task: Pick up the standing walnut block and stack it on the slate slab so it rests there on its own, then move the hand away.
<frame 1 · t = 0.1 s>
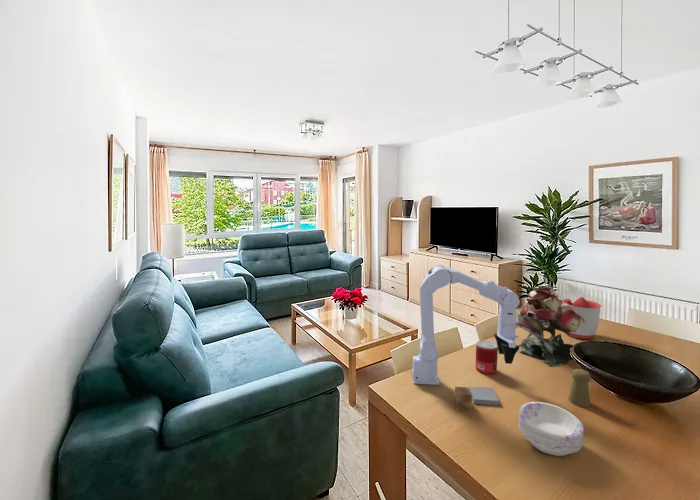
hand: (505, 358, 120), 10 cm above the table, tool pointing down, fingers open, 7 cm apart
paper bowls: (548, 444, 91), on the table
citrus juicer: (578, 335, 167), on the table
canned food: (485, 370, 132), on the table
olive green pawn: (579, 402, 110), on the table
rose bouquet: (542, 350, 150), on the table
slate slab: (483, 398, 113), on the table
walnut block: (462, 406, 109), on the table
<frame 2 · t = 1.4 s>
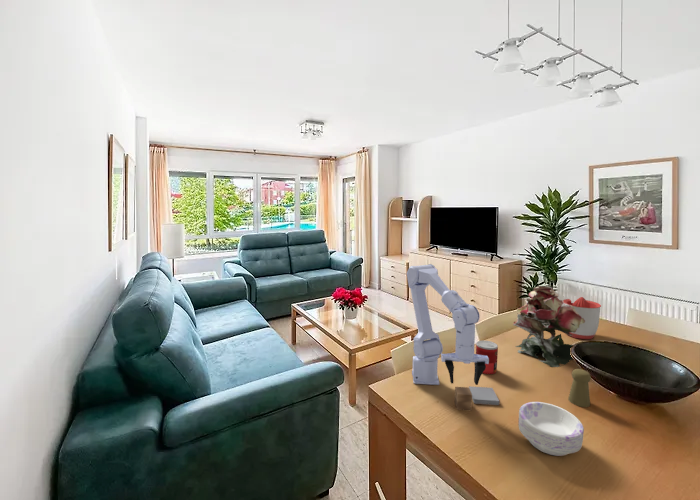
hand: (463, 382, 107), 8 cm above the table, tool pointing down, fingers open, 7 cm apart
nothing on the table moved.
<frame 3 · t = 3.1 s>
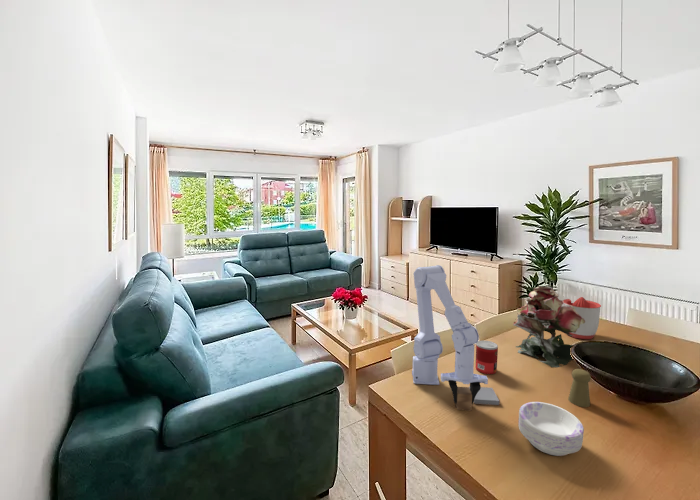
hand: (463, 402, 108), 1 cm above the table, tool pointing down, fingers closed on walnut block, 4 cm apart
walnut block: (462, 406, 109), on the table, touching gripper
everything else where it was.
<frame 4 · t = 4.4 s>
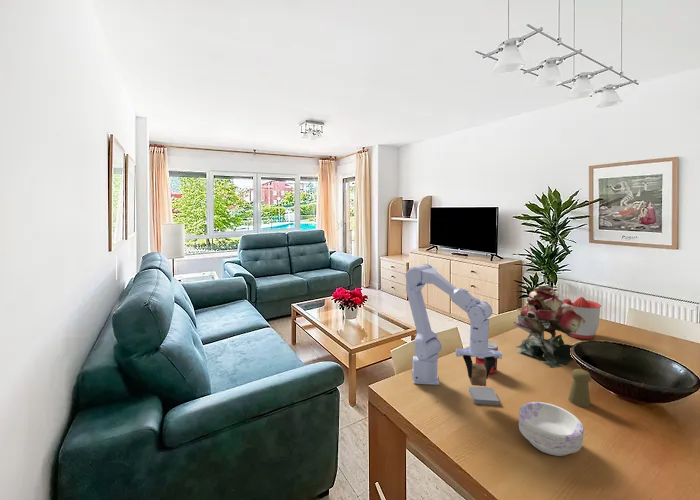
hand: (477, 377, 111), 8 cm above the table, tool pointing down, fingers closed on walnut block, 4 cm apart
walnut block: (477, 382, 111), point 7 cm above the table, touching gripper
everything else where it was.
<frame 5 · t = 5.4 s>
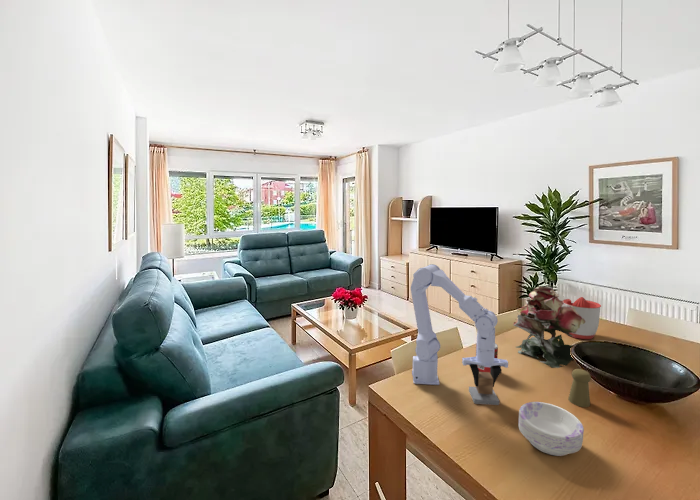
hand: (483, 385, 113), 4 cm above the table, tool pointing down, fingers closed on walnut block, 4 cm apart
walnut block: (483, 390, 113), point 3 cm above the table, touching gripper
everything else where it was.
when the fingers open (4 cm above the table, at t = 6.2 s): walnut block drops 1 cm, resting on slate slab.
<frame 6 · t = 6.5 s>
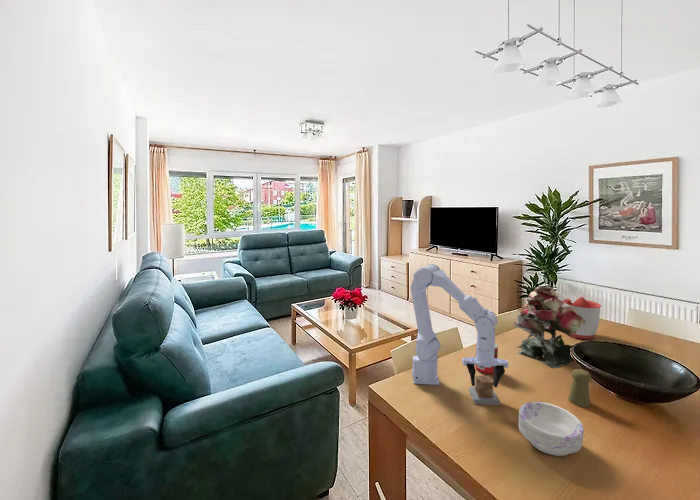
hand: (483, 385, 113), 4 cm above the table, tool pointing down, fingers open, 7 cm apart
slate slab: (483, 399, 113), on the table, touching walnut block
walnut block: (483, 394, 113), point 1 cm above the table, touching slate slab
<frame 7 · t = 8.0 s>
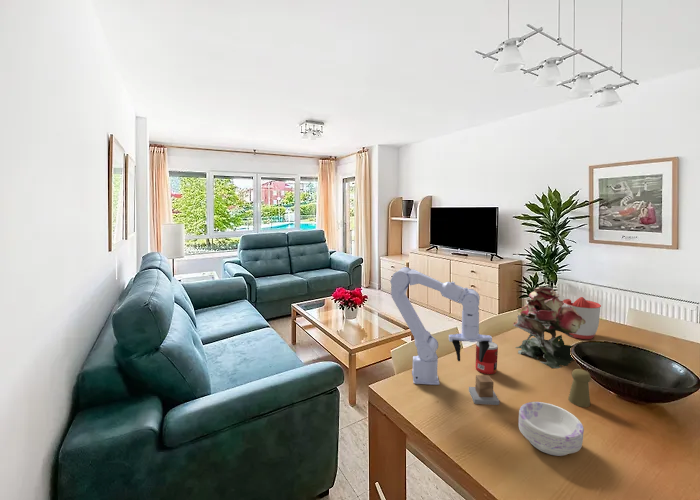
hand: (469, 360, 118), 10 cm above the table, tool pointing down, fingers open, 7 cm apart
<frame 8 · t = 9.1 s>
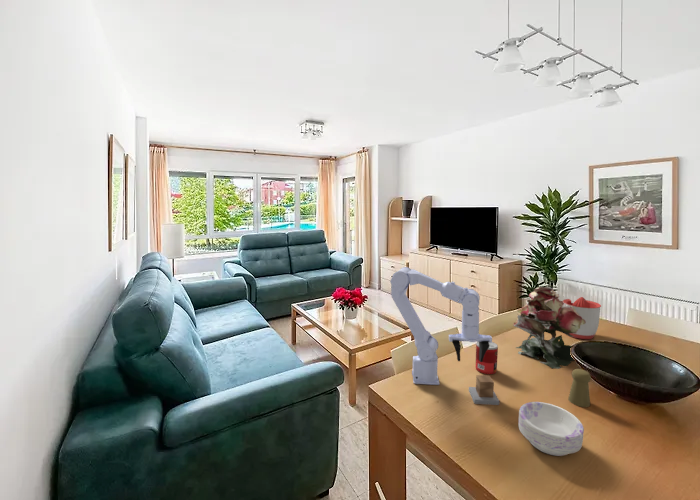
hand: (469, 360, 118), 10 cm above the table, tool pointing down, fingers open, 7 cm apart
slate slab: (483, 399, 113), on the table
walnut block: (484, 393, 113), point 1 cm above the table
at the end: walnut block 0.1 cm off-centre on the slate slab, point 2.0 cm above the slate slab's base; walnut block tilted 0°; walnut block touching nothing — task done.
